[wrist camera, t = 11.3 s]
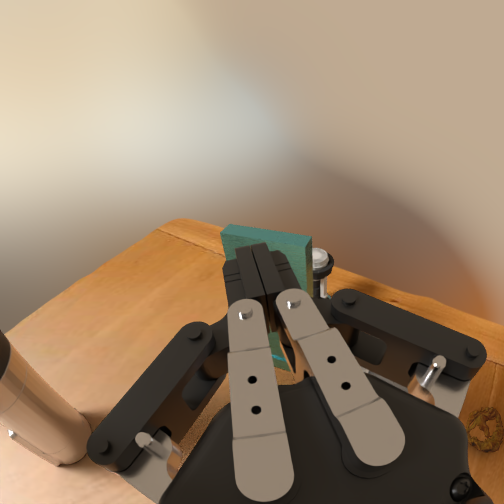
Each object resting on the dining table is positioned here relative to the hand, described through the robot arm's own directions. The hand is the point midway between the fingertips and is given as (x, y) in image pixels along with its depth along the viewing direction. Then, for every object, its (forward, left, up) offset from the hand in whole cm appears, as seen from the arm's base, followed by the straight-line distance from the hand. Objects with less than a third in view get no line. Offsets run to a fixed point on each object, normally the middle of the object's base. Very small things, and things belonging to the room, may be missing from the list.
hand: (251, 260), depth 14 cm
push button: (+21, +9, -26) cm, 34 cm away
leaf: (+11, -23, -26) cm, 37 cm away
